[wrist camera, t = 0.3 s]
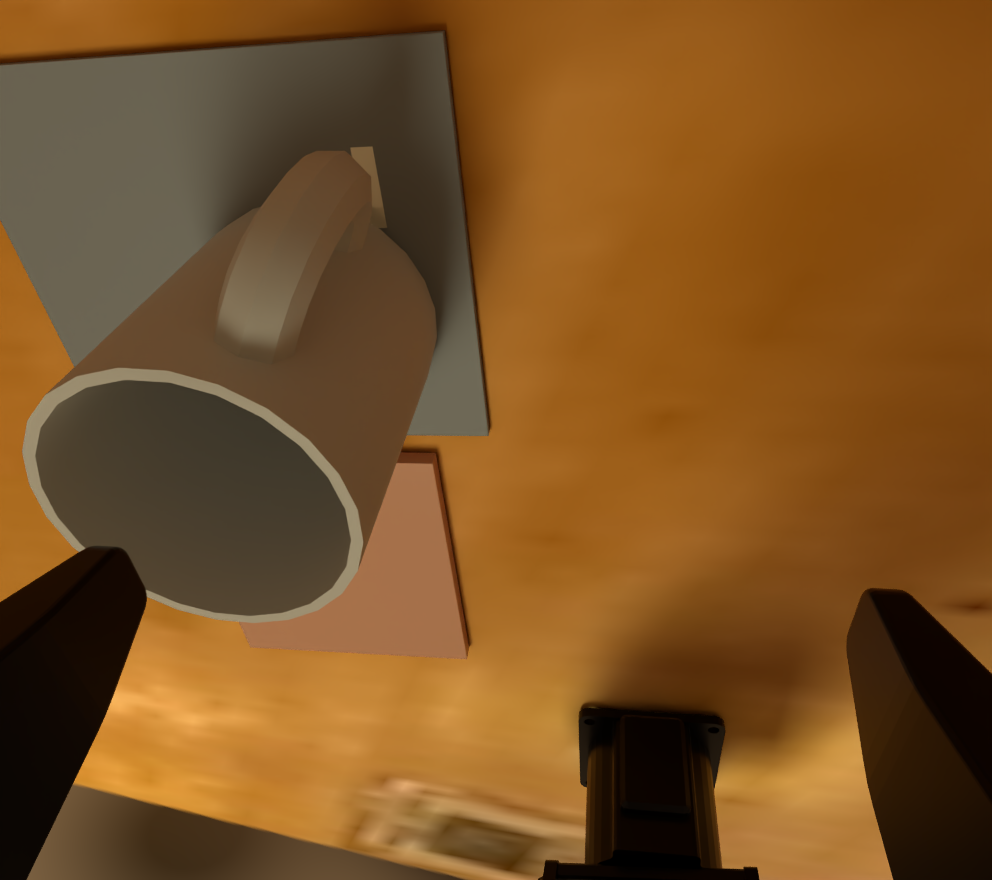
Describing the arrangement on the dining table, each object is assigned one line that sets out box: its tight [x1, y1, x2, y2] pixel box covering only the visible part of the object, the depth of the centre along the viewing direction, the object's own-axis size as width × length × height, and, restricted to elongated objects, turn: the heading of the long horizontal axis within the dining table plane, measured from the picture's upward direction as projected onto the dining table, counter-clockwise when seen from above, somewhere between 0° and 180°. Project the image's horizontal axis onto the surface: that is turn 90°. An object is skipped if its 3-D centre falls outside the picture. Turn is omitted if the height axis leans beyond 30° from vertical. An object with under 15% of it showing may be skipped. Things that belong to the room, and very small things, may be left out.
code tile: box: [0, 30, 490, 436], centre depth 22 cm, size 12×14×1 cm
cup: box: [22, 151, 437, 623], centre depth 18 cm, size 7×10×9 cm
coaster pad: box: [239, 452, 469, 659], centre depth 30 cm, size 11×10×1 cm
